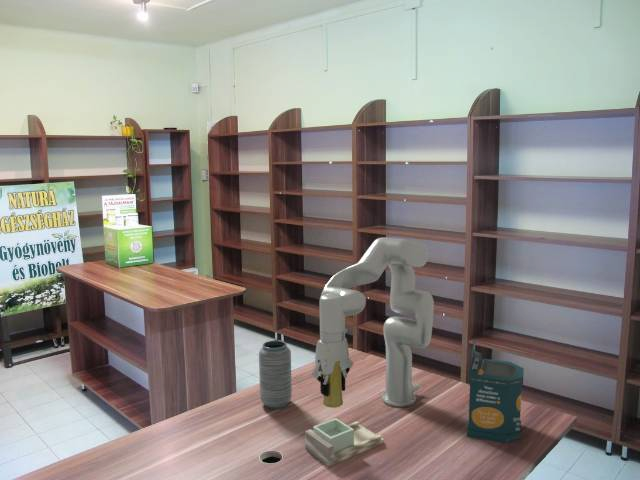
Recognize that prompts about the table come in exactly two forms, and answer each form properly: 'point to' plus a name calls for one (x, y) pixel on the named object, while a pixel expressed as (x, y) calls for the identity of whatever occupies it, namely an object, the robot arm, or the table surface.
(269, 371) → the vase
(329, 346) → the robot arm
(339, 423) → the box
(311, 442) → the cream rectangular tray
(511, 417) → the donation box
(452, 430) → the table surface
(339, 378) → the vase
